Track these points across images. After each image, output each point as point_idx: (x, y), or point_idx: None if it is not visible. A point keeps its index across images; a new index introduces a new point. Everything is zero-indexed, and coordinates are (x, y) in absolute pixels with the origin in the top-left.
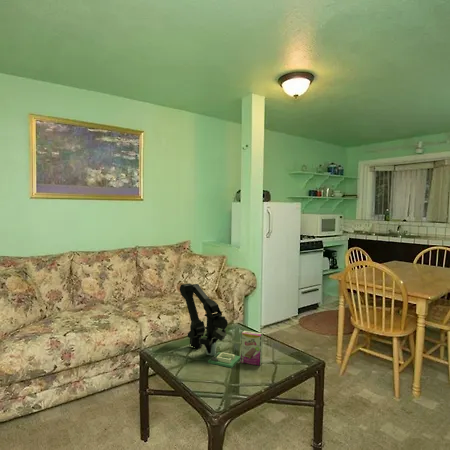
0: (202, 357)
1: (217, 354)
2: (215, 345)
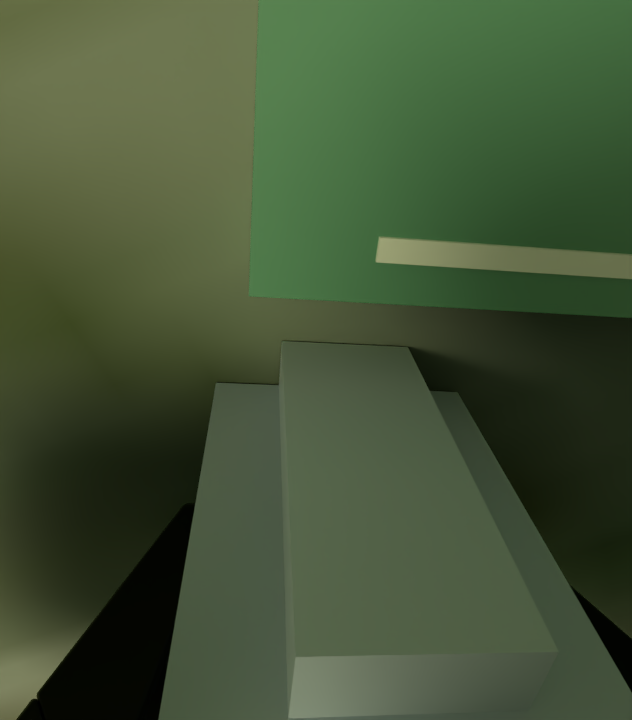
0: (625, 556)
1: (537, 230)
2: (337, 680)
